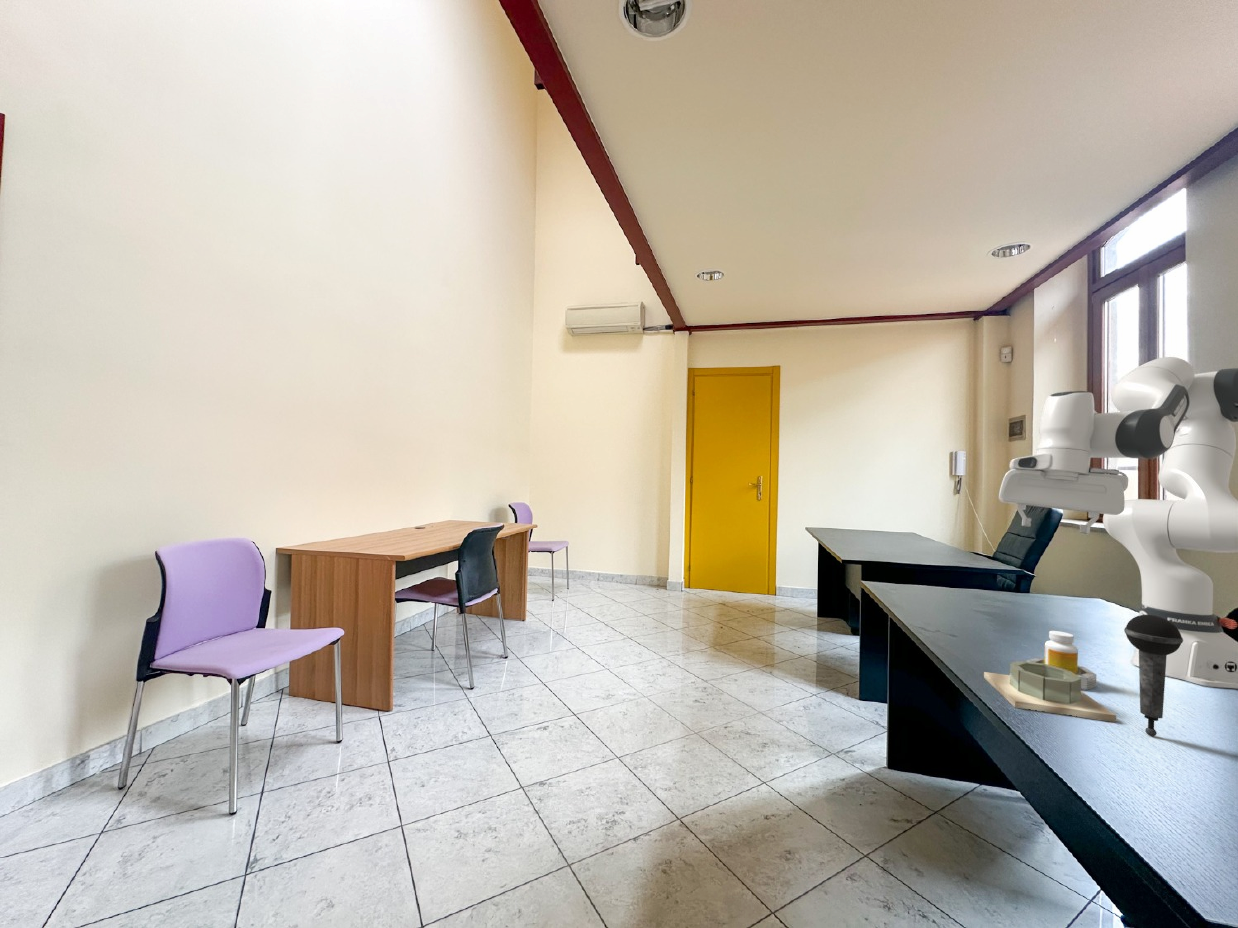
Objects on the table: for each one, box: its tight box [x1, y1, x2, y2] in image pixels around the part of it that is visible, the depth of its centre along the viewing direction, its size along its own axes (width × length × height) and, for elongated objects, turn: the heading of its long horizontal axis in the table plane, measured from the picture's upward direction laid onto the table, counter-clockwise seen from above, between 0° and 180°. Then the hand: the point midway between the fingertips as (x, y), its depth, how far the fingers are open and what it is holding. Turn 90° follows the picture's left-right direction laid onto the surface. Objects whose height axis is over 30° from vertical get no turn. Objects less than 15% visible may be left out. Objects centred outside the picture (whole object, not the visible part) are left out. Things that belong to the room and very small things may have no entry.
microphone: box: [1123, 615, 1183, 737], centre depth 86 cm, size 7×7×20 cm
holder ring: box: [1026, 657, 1097, 691], centre depth 110 cm, size 10×10×2 cm
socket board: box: [983, 660, 1117, 723], centre depth 100 cm, size 15×15×5 cm
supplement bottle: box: [1044, 630, 1079, 675], centre depth 110 cm, size 5×5×10 cm
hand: (1054, 529), depth 108 cm, fingers open, 8 cm apart
